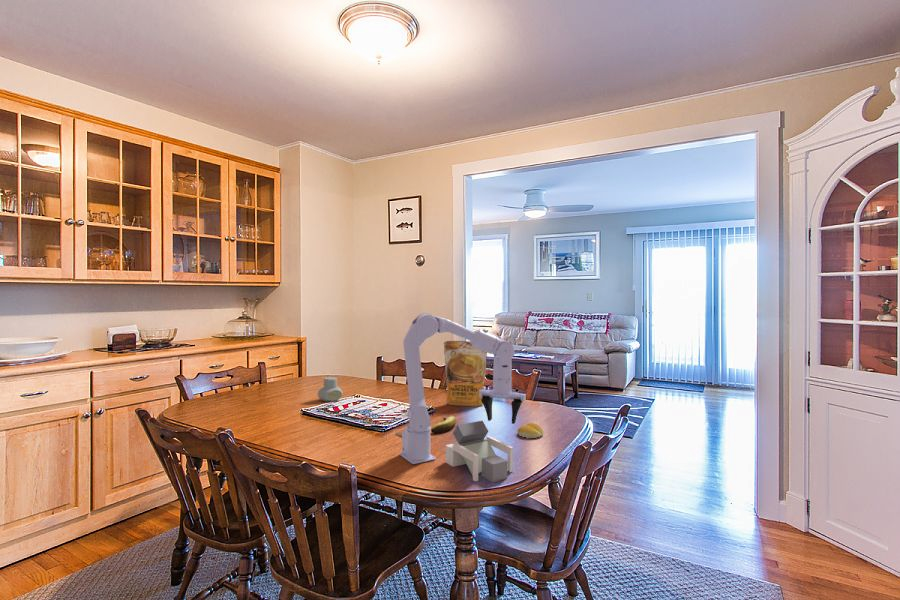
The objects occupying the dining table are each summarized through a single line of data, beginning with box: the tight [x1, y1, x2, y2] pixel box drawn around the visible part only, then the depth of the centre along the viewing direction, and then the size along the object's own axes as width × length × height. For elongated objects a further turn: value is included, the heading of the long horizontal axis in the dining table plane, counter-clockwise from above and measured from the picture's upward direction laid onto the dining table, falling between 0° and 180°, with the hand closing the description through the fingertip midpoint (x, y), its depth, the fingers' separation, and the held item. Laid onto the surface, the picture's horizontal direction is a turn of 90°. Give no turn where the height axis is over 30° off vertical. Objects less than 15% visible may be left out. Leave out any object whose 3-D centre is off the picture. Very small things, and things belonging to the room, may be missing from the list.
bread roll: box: [517, 422, 544, 439], centre depth 165 cm, size 8×9×4 cm
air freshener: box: [317, 376, 344, 403], centre depth 211 cm, size 11×8×10 cm
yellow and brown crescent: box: [395, 416, 457, 441], centre depth 173 cm, size 35×27×4 cm
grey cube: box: [481, 455, 508, 483], centre depth 129 cm, size 5×5×5 cm
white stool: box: [445, 435, 514, 482], centre depth 136 cm, size 16×13×7 cm
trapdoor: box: [452, 420, 496, 477], centre depth 136 cm, size 14×10×4 cm
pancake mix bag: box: [443, 340, 488, 408], centre depth 205 cm, size 7×19×28 cm, turn 81°
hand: (501, 421), depth 146 cm, fingers open, 7 cm apart
